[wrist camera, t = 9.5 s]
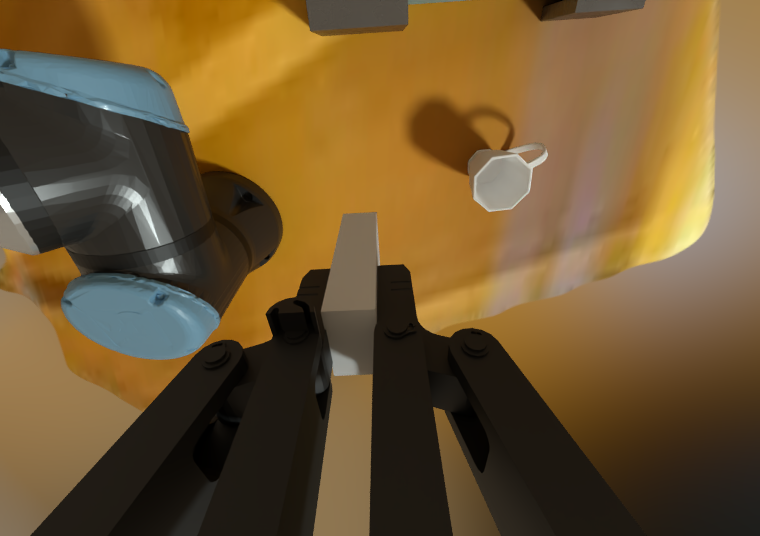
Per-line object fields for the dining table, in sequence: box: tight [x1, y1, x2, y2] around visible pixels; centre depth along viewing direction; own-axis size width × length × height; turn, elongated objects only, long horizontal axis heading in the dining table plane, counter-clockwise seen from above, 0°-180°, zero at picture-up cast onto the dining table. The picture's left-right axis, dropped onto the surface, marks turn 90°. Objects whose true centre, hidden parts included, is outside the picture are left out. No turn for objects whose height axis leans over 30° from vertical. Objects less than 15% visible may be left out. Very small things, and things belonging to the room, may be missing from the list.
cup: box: [468, 142, 548, 212], centre depth 39 cm, size 7×10×8 cm
